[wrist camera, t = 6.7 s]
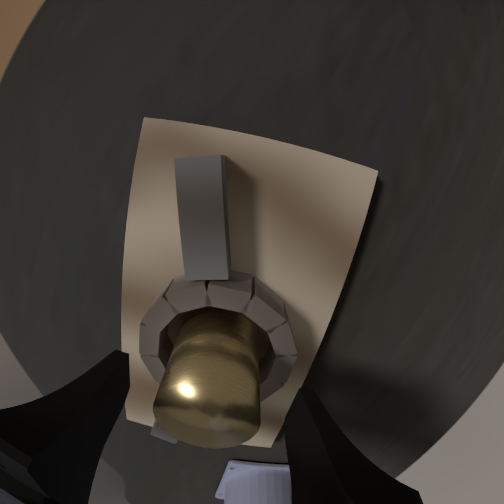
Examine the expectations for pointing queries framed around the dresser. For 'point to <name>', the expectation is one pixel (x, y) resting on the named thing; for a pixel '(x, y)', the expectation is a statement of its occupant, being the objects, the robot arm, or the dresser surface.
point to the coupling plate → (235, 252)
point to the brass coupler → (212, 380)
